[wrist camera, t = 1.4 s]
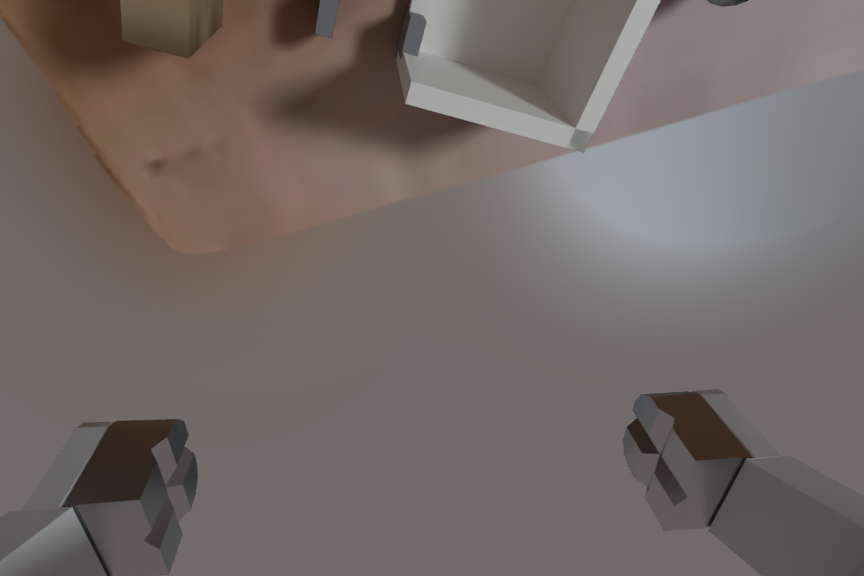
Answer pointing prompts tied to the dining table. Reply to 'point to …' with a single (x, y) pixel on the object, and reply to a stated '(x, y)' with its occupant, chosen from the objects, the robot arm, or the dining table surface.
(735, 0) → the chess piece
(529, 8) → the cabinet
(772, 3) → the dining table surface
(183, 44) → the door
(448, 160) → the dining table surface
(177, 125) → the dining table surface
